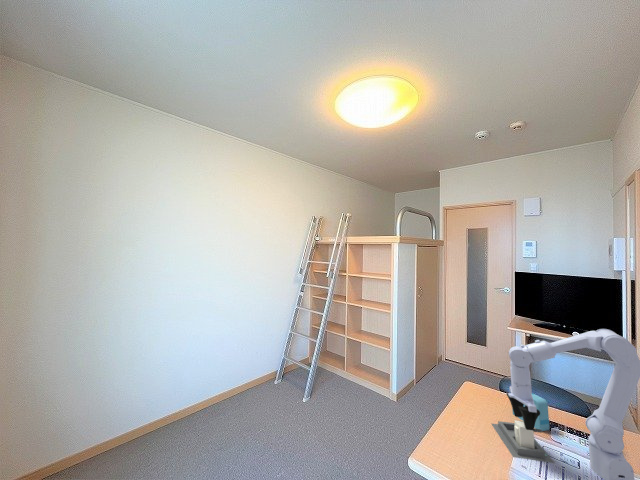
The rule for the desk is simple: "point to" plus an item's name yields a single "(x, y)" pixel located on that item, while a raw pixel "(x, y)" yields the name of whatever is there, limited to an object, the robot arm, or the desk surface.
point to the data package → (543, 418)
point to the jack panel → (509, 440)
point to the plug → (524, 435)
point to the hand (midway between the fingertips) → (523, 422)
